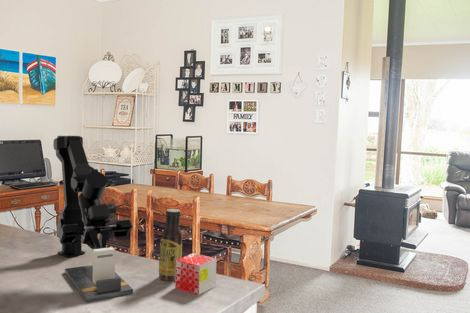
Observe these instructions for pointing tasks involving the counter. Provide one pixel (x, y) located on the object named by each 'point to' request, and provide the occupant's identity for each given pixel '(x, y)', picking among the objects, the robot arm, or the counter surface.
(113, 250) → the fader tab
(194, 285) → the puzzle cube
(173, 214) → the sauce bottle
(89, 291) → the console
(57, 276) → the counter surface
